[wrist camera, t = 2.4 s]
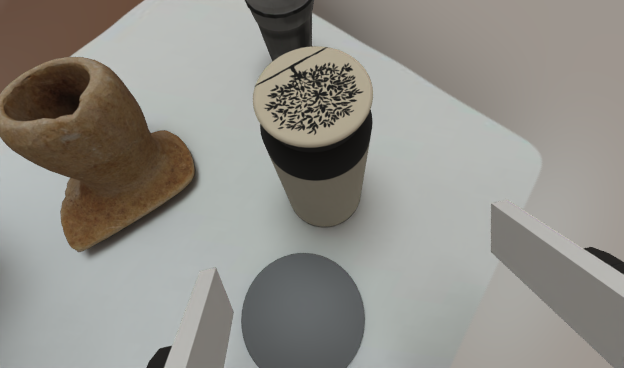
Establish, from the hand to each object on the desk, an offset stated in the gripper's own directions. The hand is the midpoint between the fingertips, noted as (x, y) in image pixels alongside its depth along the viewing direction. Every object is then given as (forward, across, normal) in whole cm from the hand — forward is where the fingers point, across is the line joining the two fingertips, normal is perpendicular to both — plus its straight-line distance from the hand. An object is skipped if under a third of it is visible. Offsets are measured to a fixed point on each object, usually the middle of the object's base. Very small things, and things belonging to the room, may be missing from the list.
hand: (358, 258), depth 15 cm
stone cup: (+26, -22, -1) cm, 34 cm away
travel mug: (+21, 0, -6) cm, 22 cm away
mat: (+12, -5, -14) cm, 19 cm away
